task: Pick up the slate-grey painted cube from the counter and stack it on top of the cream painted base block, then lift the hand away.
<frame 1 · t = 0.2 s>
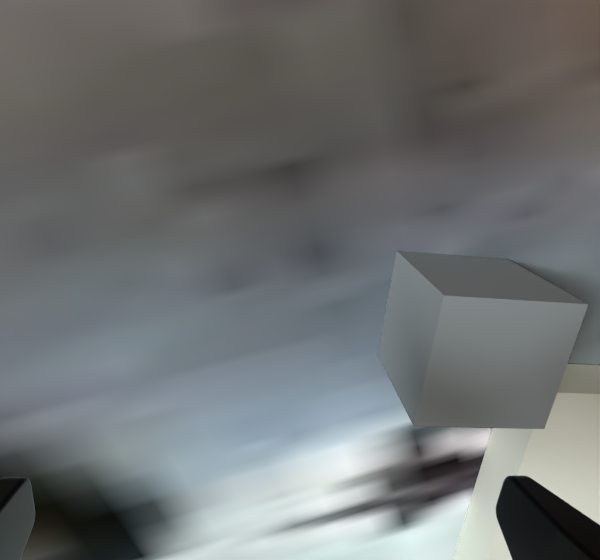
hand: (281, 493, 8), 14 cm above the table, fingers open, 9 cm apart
grey cube: (440, 307, 23), on the table
base block: (579, 472, 28), on the table
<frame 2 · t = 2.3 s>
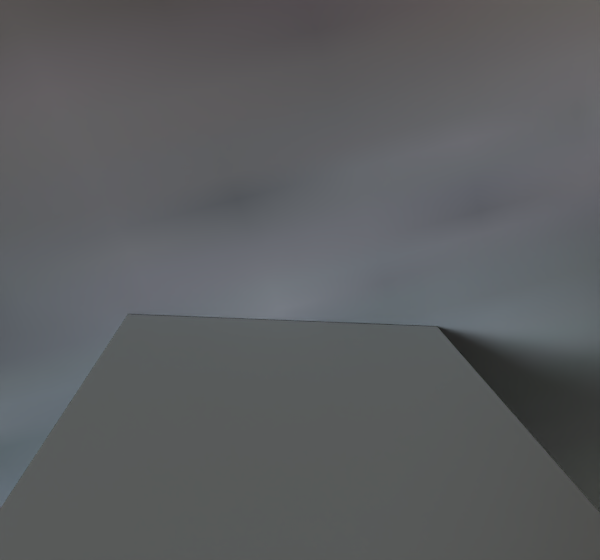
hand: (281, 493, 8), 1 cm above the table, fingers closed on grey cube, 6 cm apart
grey cube: (277, 446, 9), on the table, touching gripper
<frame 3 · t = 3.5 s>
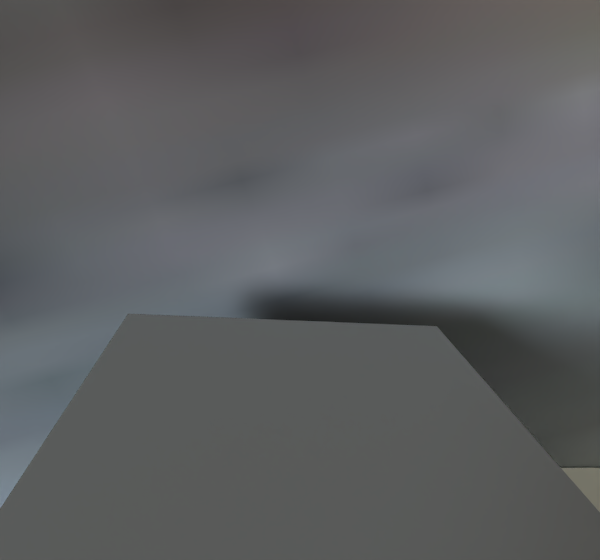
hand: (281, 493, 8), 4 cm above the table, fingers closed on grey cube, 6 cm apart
grey cube: (277, 445, 9), point 3 cm above the table, touching gripper
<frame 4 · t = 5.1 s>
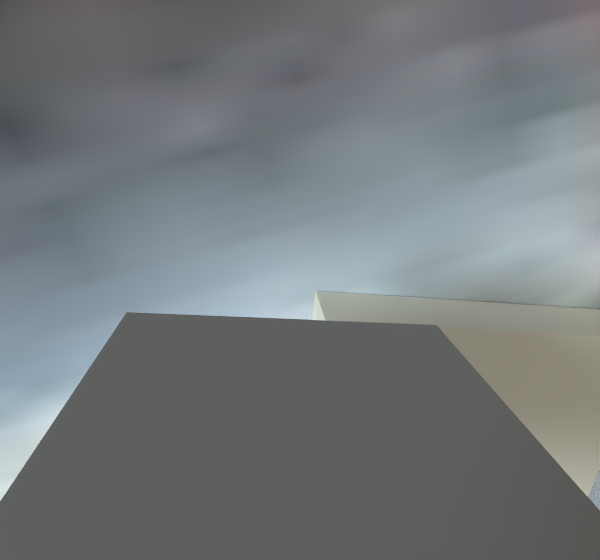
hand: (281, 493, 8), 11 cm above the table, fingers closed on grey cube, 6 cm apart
grey cube: (277, 444, 9), point 10 cm above the table, touching gripper
base block: (429, 441, 23), on the table
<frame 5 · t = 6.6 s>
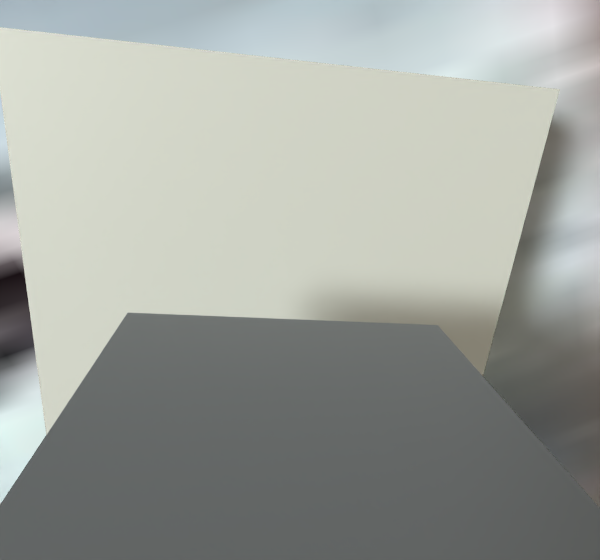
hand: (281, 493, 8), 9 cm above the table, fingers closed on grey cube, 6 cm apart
grey cube: (278, 445, 9), point 7 cm above the table, touching gripper
base block: (271, 308, 16), on the table
when the fingers open (5 cm above the table, at t = 8.0 s): grey cube stays where it is, resting on base block.
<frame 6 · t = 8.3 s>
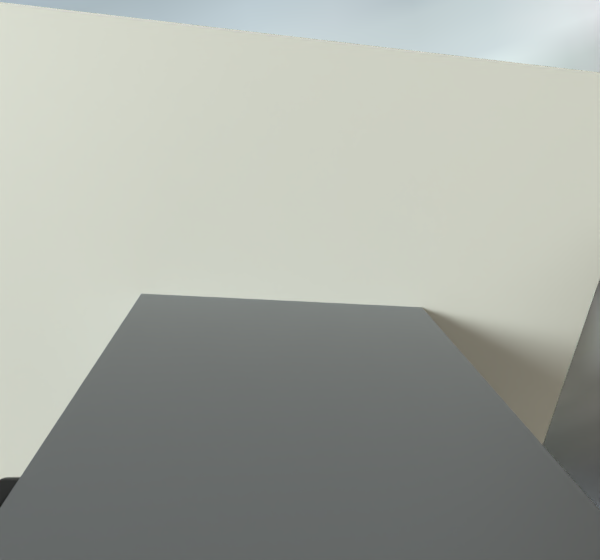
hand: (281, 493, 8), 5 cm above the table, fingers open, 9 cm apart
grey cube: (276, 417, 10), point 3 cm above the table, touching base block
base block: (273, 354, 13), on the table
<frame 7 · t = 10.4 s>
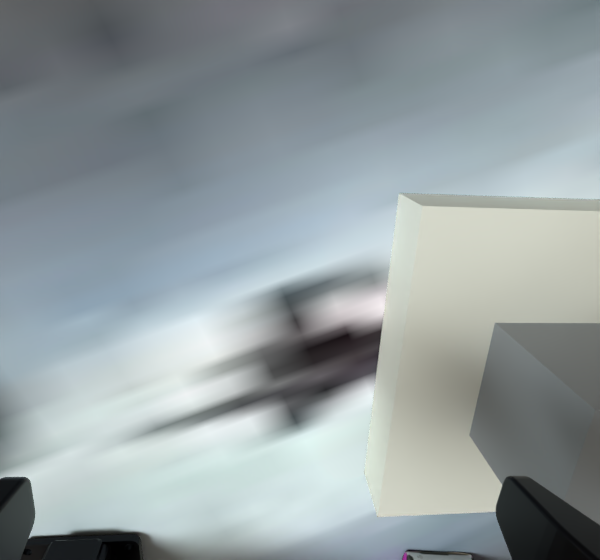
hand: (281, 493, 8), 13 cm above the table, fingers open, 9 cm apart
grey cube: (542, 381, 20), point 3 cm above the table, touching base block
base block: (508, 349, 23), on the table
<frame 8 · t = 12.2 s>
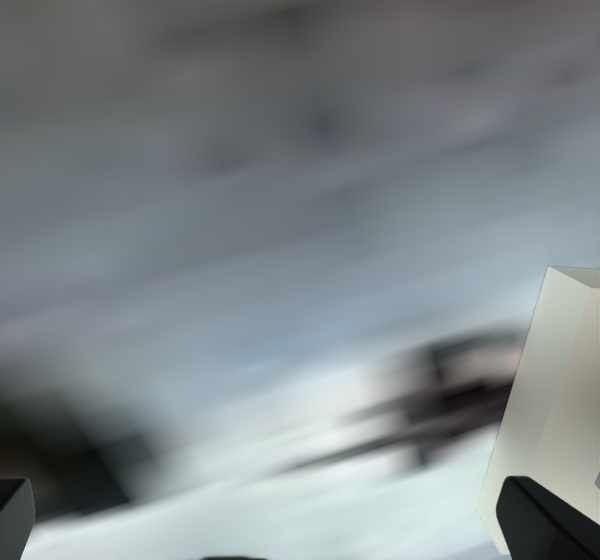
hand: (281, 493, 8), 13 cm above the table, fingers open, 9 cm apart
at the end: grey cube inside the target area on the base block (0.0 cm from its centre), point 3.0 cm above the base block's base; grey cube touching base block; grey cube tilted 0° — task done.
